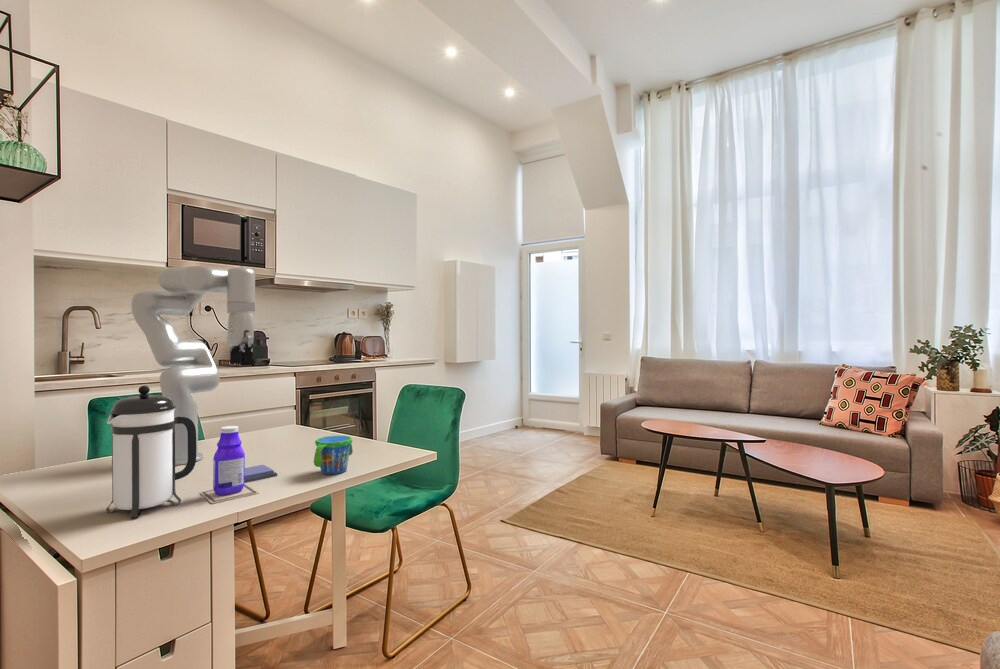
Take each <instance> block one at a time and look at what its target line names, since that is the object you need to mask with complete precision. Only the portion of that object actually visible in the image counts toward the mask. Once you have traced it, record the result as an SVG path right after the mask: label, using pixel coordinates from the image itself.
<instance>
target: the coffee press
mask: <svg viewBox="0 0 1000 669" xmlns="http://www.w3.org/2000/svg"><path fill="white" fill-rule="evenodd" d="M137 391H138V393H139V395H135V396H128V397H124V398H120V399H119V400H117V401H116V402H115V403H114V404H113V406H112V408H111V409H110V413H109V416H108V418H107V421H106V424H107V425H111V428H110V429H111V430H110V431H111V452H112V453H111V464H112V465H111V470H112V472H111V473H112V474H111V475H112V476H111V477H112V478H111V480H112V481H111V482H112V483H111V484H112V485H111V486H112V490H111V491H112V492H111V494H112V495H111V496H112V498H111V502H110V504H108V506H107V507H106V509H105V511H106V512H107V513H108V514H112V513H113V512H114V511H115V510H118V509H119V510H123V511H124V510H126V511H130V514H129V515H130V519H131V520H133V519H139V517H140V515H141V511H142V510H144V509H148V508H153V507H157V506H159V505H162V504H164V503H170V504H171V505H173V506H175V505H176V506H179V505H180V504H181V501H182V499H181V497H179V496H178V495H177V492H176V481H177V480H180V479H183V478H185V477H187V476H188V475H189V474H190V473H192V472H193V470H194V468H195V466H196V462H197V461H196V428H195V425H194V423H193V421H192V420H190V419H189V418H186V417H176V418H174V410H175V408H176V404H174V403H173V401H172V399H171V398H169V397H167V396H162V394H160V395H159V394H149V392H150V391H151V389H150V387H149V386H148V385H142V386H140V387H139V388H138V389H137ZM175 424H184V425H185V426H186V428H187V433H188V461H187V464H185V466H184V468H183V469H182V470H180V471H178V472H176V465H175ZM173 497H174V498H175V500H177V501H178V503H177V502H175V501H174V500H172V498H173ZM112 504H113V506H114V507H115V509H113V510H112V509H110V507H111V505H112ZM176 506H175V507H176Z"/></svg>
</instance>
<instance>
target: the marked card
mask: <svg viewBox="0 0 1000 669" xmlns="http://www.w3.org/2000/svg"><path fill="white" fill-rule="evenodd" d="M257 494H259V491H257V490H255V489H254V488H252V486H249V485H248V484H246V482H245V483H244V487H243V489H242V490H241V491H240V492H236V493H232V494H227V495H218V494H216V493H215V492H214V489H210V490H206V491H201V492H199V495H200V496H202V497H203V498H204V497H205V498H204V499H206V501H208V502H209V503H210V502H211V503H212V504H211V503H210V504H211V505H215V504H217V503H218V502H219V503H223V502H227V501H226V500H228V501H231V499H232V500H236V499H235V498H237V499H239V498H240V497H241V498H245V497H249V496H254V495H257ZM241 498H240V499H241ZM222 501H223V502H222ZM214 503H215V504H214ZM219 503H218V504H219Z"/></svg>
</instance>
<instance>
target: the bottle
mask: <svg viewBox="0 0 1000 669" xmlns="http://www.w3.org/2000/svg"><path fill="white" fill-rule="evenodd" d="M216 447H217V450H216V451H215V453H214V455H213V460H212V461H213V462H212V466H213V467H212V473H213V474H212V477H213V478H212V486H213V489H212V490H214V492H215V493H216V494H218V495H227V494H232V493H236V492H240V491H241V490H242V489H243V487H244V475H245V468H246V466H245V465H246V464H245V463H246V461H245V460H246V459H245V458H246V454H245V451H244V449H243V447H242V440H241V438H240V434H239V426H238V425H226V426H222V427H221V428H220V436H219V440H218V441H217V443H216Z"/></svg>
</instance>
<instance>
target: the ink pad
mask: <svg viewBox="0 0 1000 669" xmlns="http://www.w3.org/2000/svg"><path fill="white" fill-rule="evenodd" d="M277 476H278V473H277V472H276V471H275V470H274V469H272V468H270V467H269V466H267V465H265V464H259V465H253V466H248V467H245V475H244V483H245V484H246V483H250V482H254V481H259V480H263V479H269V478H274V477H277Z"/></svg>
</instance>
